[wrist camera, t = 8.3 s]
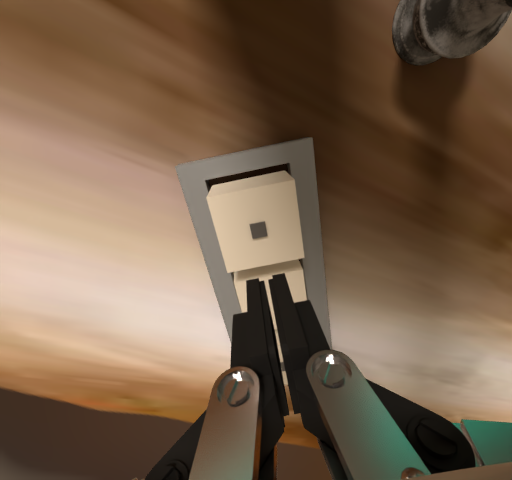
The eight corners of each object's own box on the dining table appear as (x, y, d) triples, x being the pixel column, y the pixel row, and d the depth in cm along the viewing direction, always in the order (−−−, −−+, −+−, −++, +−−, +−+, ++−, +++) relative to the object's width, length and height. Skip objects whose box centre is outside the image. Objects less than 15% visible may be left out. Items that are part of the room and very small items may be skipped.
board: (243, 372, 32) (244, 383, 30) (179, 164, 21) (174, 166, 20) (329, 356, 31) (333, 366, 30) (307, 137, 21) (312, 137, 19)
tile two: (234, 260, 25) (233, 284, 21) (293, 248, 25) (303, 270, 21) (247, 307, 27) (248, 336, 24) (300, 296, 27) (310, 324, 23)
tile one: (212, 185, 20) (205, 198, 16) (284, 170, 20) (295, 180, 16) (229, 249, 23) (227, 274, 19) (294, 236, 23) (305, 258, 19)
